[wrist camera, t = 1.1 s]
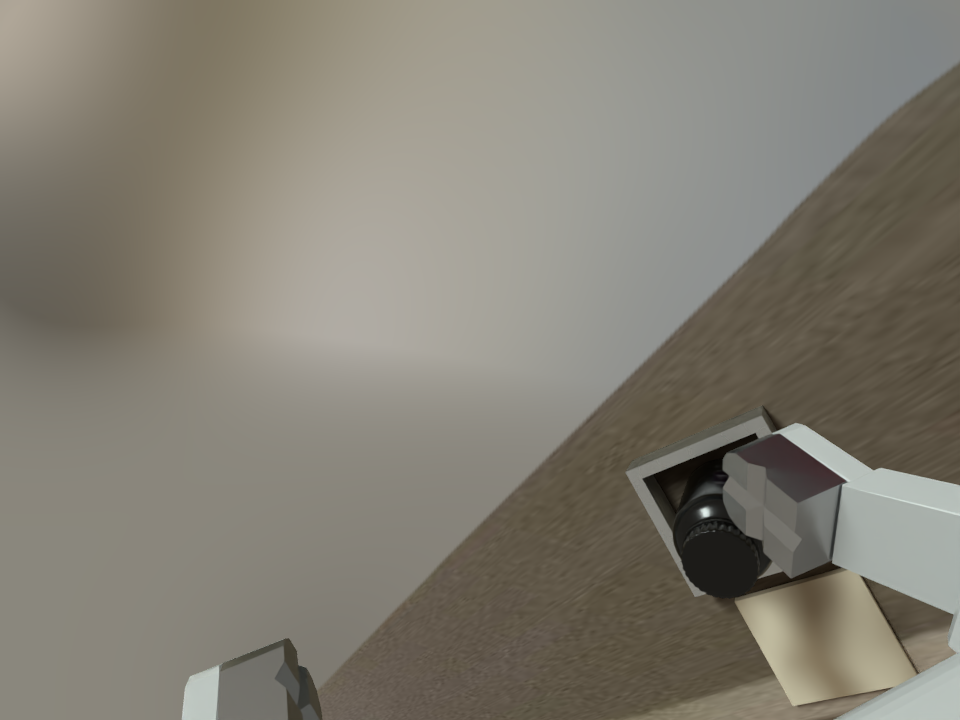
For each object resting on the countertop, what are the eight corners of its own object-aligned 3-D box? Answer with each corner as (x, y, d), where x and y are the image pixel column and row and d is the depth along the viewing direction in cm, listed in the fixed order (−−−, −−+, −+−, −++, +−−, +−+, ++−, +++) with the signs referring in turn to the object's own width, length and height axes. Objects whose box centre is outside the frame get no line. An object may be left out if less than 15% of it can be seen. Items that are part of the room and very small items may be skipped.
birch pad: (854, 564, 47) (855, 568, 47) (919, 676, 47) (920, 681, 46) (735, 598, 52) (734, 601, 51) (792, 701, 51) (793, 706, 51)
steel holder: (762, 405, 48) (761, 415, 45) (837, 536, 47) (841, 554, 45) (632, 460, 53) (625, 472, 50) (698, 578, 53) (695, 596, 50)
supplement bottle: (755, 549, 50) (750, 634, 39) (673, 512, 52) (648, 583, 42) (789, 477, 48) (794, 546, 37) (703, 442, 50) (684, 498, 40)
